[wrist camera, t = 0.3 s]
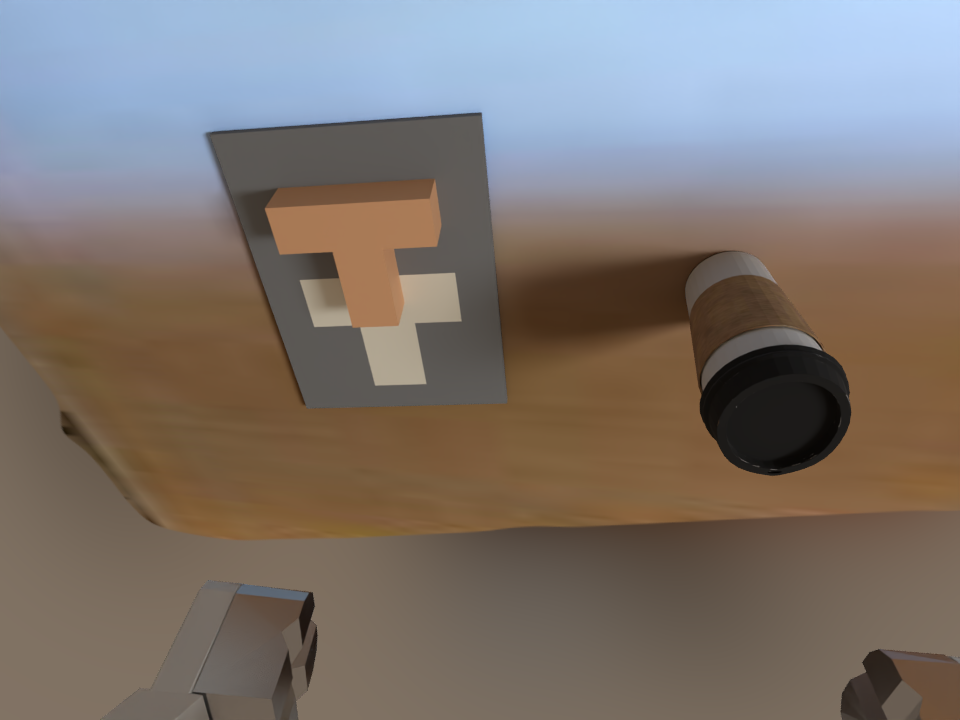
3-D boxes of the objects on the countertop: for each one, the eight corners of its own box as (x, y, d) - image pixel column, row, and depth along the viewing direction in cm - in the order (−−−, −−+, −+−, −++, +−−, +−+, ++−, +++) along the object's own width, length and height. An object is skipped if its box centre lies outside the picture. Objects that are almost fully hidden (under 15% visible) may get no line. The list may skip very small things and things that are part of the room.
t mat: (212, 132, 44) (209, 134, 44) (481, 112, 42) (481, 115, 42) (308, 404, 60) (306, 408, 60) (507, 399, 58) (507, 403, 58)
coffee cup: (664, 333, 53) (702, 481, 41) (670, 239, 47) (715, 379, 36) (775, 326, 52) (845, 476, 40) (794, 230, 46) (881, 370, 35)
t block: (277, 188, 46) (264, 208, 44) (434, 178, 45) (429, 198, 43) (314, 306, 52) (304, 329, 50) (452, 300, 51) (448, 323, 49)
